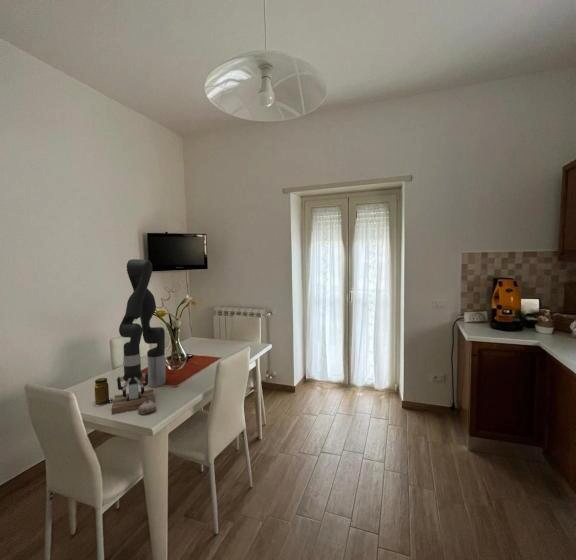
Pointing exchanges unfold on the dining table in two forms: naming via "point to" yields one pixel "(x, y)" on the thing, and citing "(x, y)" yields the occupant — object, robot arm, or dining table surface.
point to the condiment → (102, 392)
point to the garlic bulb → (147, 406)
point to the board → (130, 402)
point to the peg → (133, 392)
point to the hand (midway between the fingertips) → (133, 395)
